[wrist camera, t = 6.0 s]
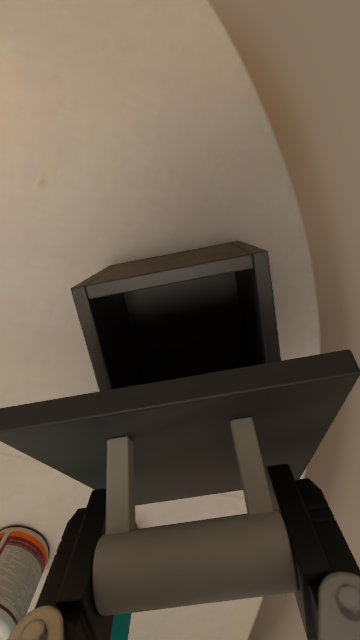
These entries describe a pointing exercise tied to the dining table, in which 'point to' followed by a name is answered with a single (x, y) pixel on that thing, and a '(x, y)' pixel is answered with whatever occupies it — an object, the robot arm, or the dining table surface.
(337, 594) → the robot arm
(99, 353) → the hinged lid box
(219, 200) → the dining table surface
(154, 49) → the dining table surface
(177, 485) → the box lid
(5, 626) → the pill bottle
